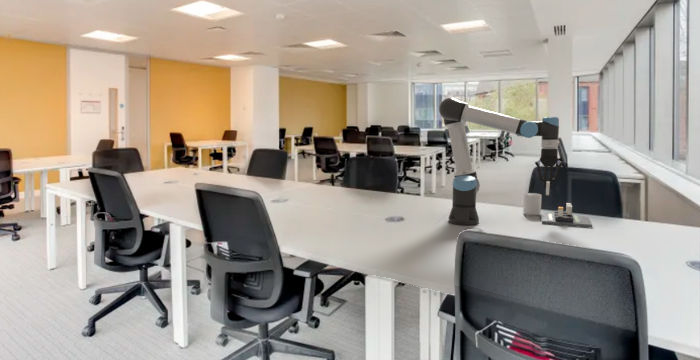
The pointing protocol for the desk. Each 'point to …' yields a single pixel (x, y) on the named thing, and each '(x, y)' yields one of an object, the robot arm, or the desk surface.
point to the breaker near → (560, 211)
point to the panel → (581, 218)
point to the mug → (532, 204)
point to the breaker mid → (569, 210)
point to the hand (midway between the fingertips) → (547, 194)
